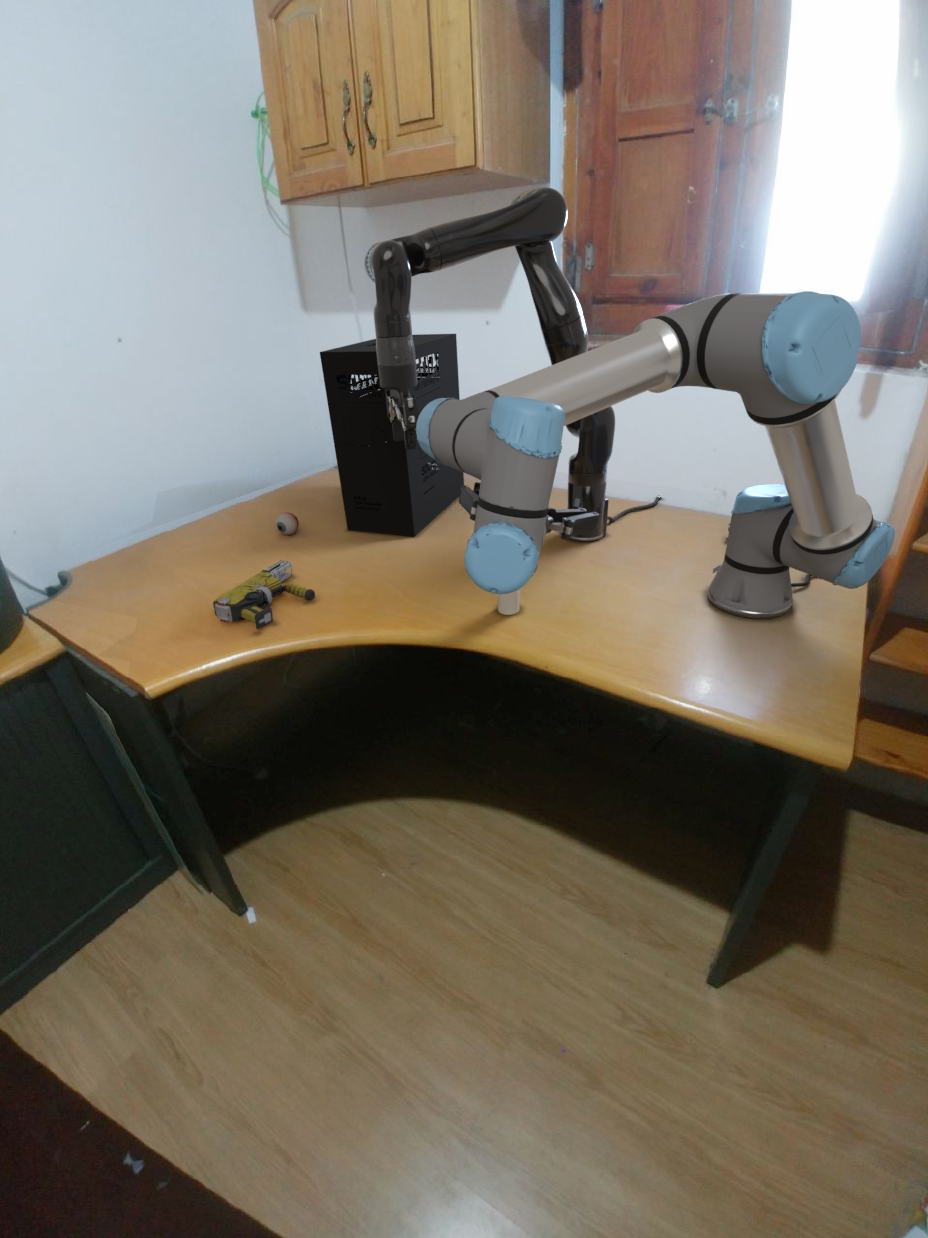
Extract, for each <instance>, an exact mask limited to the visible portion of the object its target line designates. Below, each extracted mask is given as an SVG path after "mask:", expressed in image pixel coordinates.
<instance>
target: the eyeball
mask: <svg viewBox="0 0 928 1238" xmlns="http://www.w3.org/2000/svg"><path fill="white" fill-rule="evenodd" d="M299 525H300V522H299V519H298V517H297V516H296V515H295V514H294V513H292V512H287V511H286V512H282V513H280V514H279V515H278V516H277V517H276V520H275V527H276V529H277V530H278V531H279V532H280V533H281V534H282V535H285V536H286V535H287V536H289V535H293V534H295V533H296V532H297V531H298V529H299Z"/></svg>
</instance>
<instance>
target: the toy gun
mask: <svg viewBox="0 0 928 1238" xmlns="http://www.w3.org/2000/svg"><path fill="white" fill-rule="evenodd" d="M288 569H290V570H291V571H290V572H287V570H288ZM292 576H293V565H292V562H291V561H290V560H286V561H285V560H284V559H280V560H279V561H277V562H275V563H273V565H271V566H269V567H268V568H266V569H262V570H261V571H259V572H258V573H255V575H253V576H251V577H250V578H248V579H246V580H245V581H243V582H241V583H240V584H238V585H236V586H234V587H233V588H232V589H230V590H228V591H227V592H225V593H224V594H222V595H220V596H219V597H217V598H216V599H214V600H213V601H212V605H213V612H214V616H215V617H216V618H217V619H219V622H221V623H225V624H227V623H229V622H230V623H236V622H238V623H239V622H242V621H246V620H247V621H249V622H252V623H254V624H255V628H256V630H261V629H263V628H264V627H266V626H268V625H270V624H271V623H273V622H274V615H273V609H272V607H271V605H272V603H273V599H274V598H276V597H279V596H281V595H282V594H283V593H287V594H291V595H293V596H296V597H299V598H300V599H304V600H306V601H308V602H311V601H312V600H314V599H315V598H316V593H315V591H314V589H312V588H307V587H305V586H302V585H299V584H296V583H293V582H292V581H289V582H286V584H285V585H284V584H283V583H282V582H284V581H286V580H287V579H288V578H290V577H292Z"/></svg>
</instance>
